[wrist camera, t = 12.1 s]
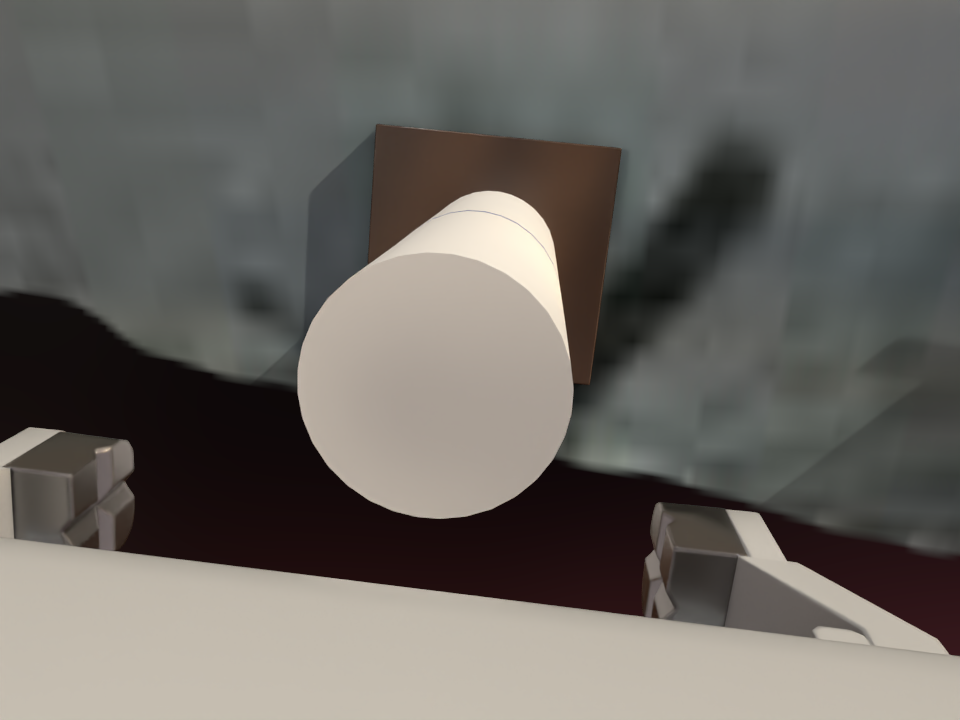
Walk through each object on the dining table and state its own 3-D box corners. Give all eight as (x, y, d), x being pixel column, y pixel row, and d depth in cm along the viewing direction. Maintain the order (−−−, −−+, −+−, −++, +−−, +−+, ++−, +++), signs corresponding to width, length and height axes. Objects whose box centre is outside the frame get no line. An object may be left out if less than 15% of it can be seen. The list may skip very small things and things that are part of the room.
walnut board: (619, 148, 45) (621, 148, 44) (588, 379, 48) (589, 385, 47) (380, 124, 45) (375, 123, 44) (365, 354, 49) (361, 360, 48)
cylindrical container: (565, 201, 45) (596, 276, 20) (543, 330, 46) (547, 538, 22) (433, 181, 45) (310, 231, 21) (416, 310, 47) (285, 495, 23)
